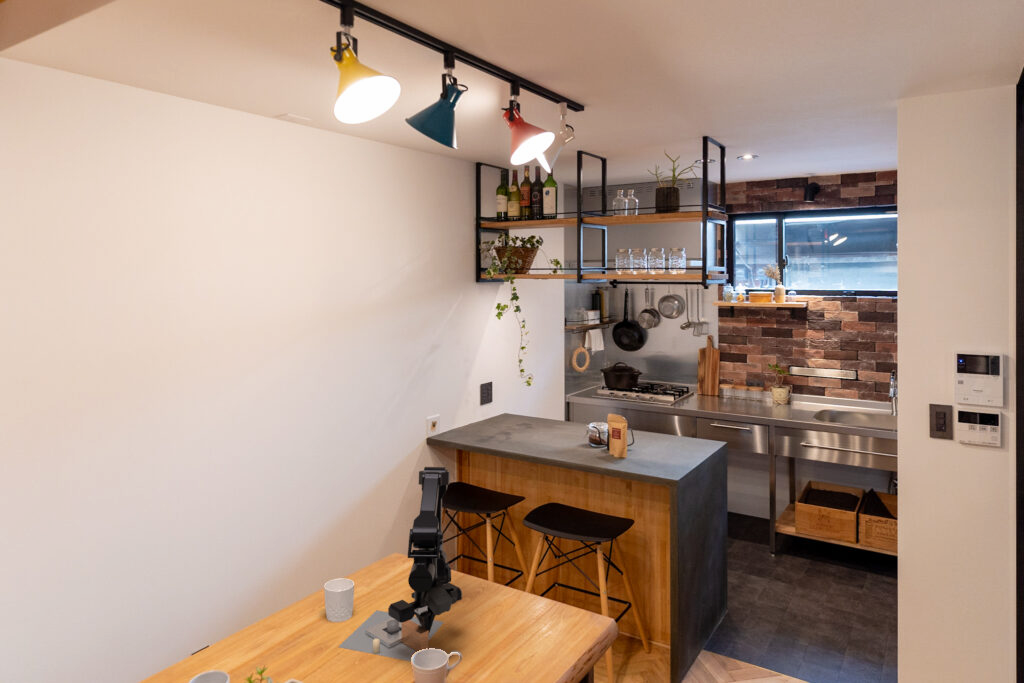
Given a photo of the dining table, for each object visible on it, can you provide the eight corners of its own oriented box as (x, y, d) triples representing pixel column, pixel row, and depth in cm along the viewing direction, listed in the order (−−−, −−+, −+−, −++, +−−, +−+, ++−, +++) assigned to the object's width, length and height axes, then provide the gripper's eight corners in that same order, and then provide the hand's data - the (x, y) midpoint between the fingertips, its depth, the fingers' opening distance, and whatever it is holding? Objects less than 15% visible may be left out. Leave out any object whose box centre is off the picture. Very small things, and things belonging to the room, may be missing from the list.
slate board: (376, 614, 188) (376, 599, 188) (443, 626, 183) (444, 611, 182) (338, 651, 169) (337, 635, 169) (411, 666, 163) (412, 649, 163)
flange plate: (365, 633, 175) (365, 614, 175) (396, 619, 183) (396, 601, 182) (408, 659, 164) (408, 639, 163) (439, 643, 171) (440, 624, 171)
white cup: (346, 629, 180) (346, 592, 179) (319, 625, 182) (318, 589, 181) (359, 614, 188) (359, 579, 187) (332, 611, 189) (332, 576, 189)
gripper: (411, 596, 157) (413, 661, 159) (475, 573, 170) (476, 633, 171) (386, 581, 166) (388, 643, 167) (448, 560, 178) (449, 617, 179)
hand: (426, 634), depth 171 cm, fingers closed
